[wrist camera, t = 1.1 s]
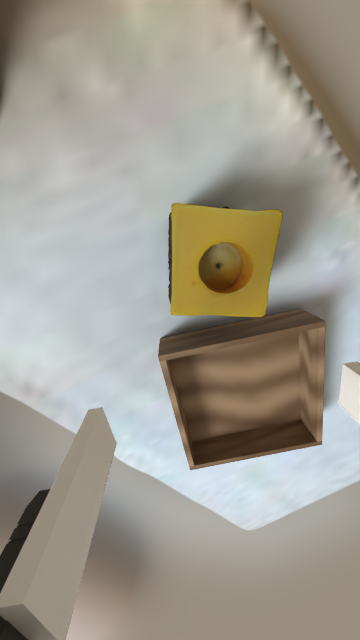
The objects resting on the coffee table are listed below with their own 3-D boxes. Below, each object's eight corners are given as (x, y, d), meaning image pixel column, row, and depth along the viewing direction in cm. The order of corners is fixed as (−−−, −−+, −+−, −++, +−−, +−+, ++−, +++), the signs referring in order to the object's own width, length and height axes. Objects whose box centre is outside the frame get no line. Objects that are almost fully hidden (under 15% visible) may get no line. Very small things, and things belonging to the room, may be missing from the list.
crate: (160, 338, 32) (158, 356, 27) (299, 308, 32) (325, 321, 27) (187, 440, 40) (190, 470, 34) (301, 417, 39) (322, 444, 34)
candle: (168, 215, 27) (167, 199, 17) (246, 218, 27) (287, 205, 18) (167, 294, 30) (166, 316, 21) (236, 295, 31) (266, 318, 21)
